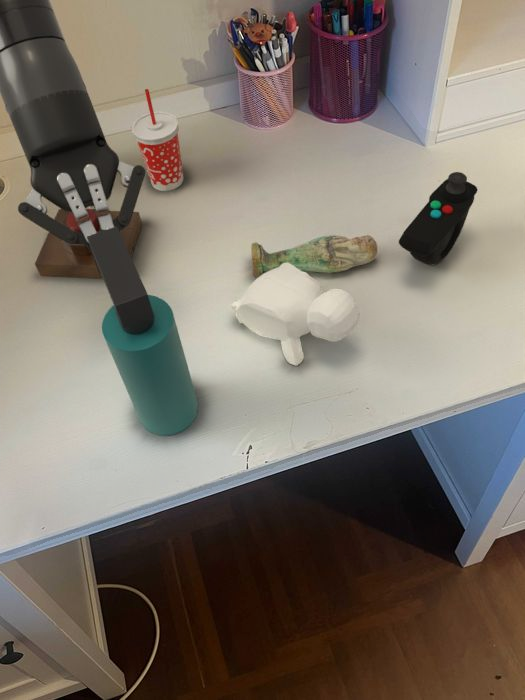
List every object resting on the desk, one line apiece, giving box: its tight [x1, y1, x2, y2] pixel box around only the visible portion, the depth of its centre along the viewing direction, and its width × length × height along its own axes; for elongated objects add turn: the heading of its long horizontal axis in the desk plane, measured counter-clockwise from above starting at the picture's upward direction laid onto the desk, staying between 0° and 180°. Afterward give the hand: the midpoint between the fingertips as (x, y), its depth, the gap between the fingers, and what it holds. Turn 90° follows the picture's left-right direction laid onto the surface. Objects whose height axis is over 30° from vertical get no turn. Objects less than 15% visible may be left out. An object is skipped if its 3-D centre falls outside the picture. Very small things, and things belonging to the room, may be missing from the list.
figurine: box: [250, 234, 378, 277], centre depth 80 cm, size 6×15×4 cm, turn 87°
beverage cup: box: [131, 88, 185, 192], centre depth 87 cm, size 6×6×14 cm
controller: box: [398, 171, 478, 266], centre depth 77 cm, size 4×12×10 cm, turn 142°
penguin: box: [230, 263, 360, 367], centre depth 72 cm, size 9×8×15 cm
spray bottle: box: [87, 227, 199, 436], centre depth 63 cm, size 11×6×20 cm, turn 24°
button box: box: [34, 208, 143, 280], centre depth 84 cm, size 11×10×4 cm
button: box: [67, 208, 99, 232], centre depth 82 cm, size 4×4×2 cm
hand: (117, 278), depth 64 cm, fingers closed
